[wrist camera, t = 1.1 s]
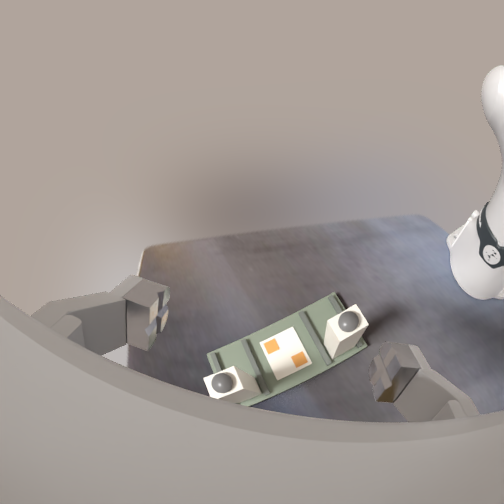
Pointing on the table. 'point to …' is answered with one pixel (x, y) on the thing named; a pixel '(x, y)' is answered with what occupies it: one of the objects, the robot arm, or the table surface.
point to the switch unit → (285, 350)
